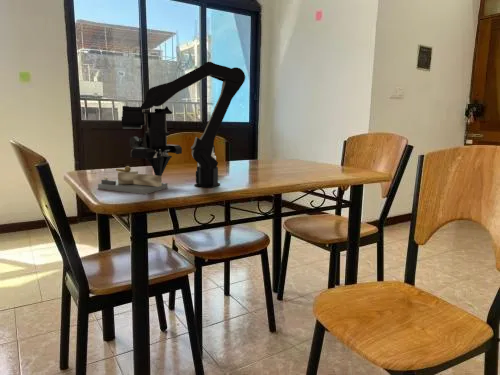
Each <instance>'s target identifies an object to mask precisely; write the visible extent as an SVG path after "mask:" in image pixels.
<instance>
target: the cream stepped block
mask: <svg viewBox="0 0 500 375" xmlns="http://www.w3.org/2000/svg"><path fill="white" fill-rule="evenodd" d="M115 171H116V172H117V180H118V184H138V185H147V186H156V187H159V186H162V183H163V182H162V176H157V175H155V174H146V173H139V171H138V170H135V169H132V168H131V167H130V166H129V165H126V166H125V167H124V168H116V169H115Z"/></svg>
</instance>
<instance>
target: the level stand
mask: <svg viewBox="0 0 500 375" xmlns="http://www.w3.org/2000/svg"><path fill="white" fill-rule="evenodd" d="M100 180H101V182H99V183H98V184H97V188H98V190H99V189H100V190H109V191H117V192H125V193H132V194H140V195H142V194H143V195H146V194H151V193H153V192H158V191H160V190H165V188H166V189H168V187H169V186H168V183H167V182H162V186H159V187H156V186H147V185H138V184H118V179H113V180H111V179H109V177H108V176H106V175H105V176H104V177H103V179H100Z"/></svg>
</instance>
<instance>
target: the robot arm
mask: <svg viewBox="0 0 500 375" xmlns="http://www.w3.org/2000/svg"><path fill="white" fill-rule="evenodd" d="M207 77H210V78H212V79H213V78H214V79H216V80H218V81H221V82H222V84H221V89H220V95H219V97H218V99H217V101H216V104H215V106H214V108H213V110H212V113H211V114H210V115H211V116H210V118H209V120H208V122H207V124H206V127H205V129H204V131H203V133H202V134H201V136H200V137H197V136H195V138H194V142H193V144H192V146H190V149H191V155H192V158H193V160H194V161H195V162H196V163H197V162H198V163H199V165H200V166H198V167H197V166H196V170H195V184H194V185H193V186H195V187H203V188H214V187H217V186H219V185H221V182H219V167H218V164H219V162H218V160H217V159H216V160H215V159H214V158H213V157H212V156H211V155H212V151H213V146H215V144H214V143H215V139H216V136H217V134H218V131H219V129H220V128H221V125H222V122H223V121H224V118H225V116H226V113H227V111H228V109H229V106H230V104H231V102H232V101H233V98H234V97H235V95H236V94H237V93H238V92H239V90H240V89H241V87H242V86H243V84H244V83H245V81H246V75H245V72H244V71H243V69H241V68H239V67H228V66H225V65H222V64H217V63H214V62H212V61H206V62H204V64H201V65H200V66H198V67H197V68H195V69H193V70H191V71H189V72H187V73H186V74H185V73H184V74H183V75H181V76H180V77H178V78H176V79H174V80H171V81H168V82H166V83H161V84H159V85H156V86H152V87H150V88H149V89H148V90H147V91H146V95H145V96H146V97H145V98H146V99H145V100H144V101H143V103H141V105H140V106H129V105H122V110H121V114H122V115H121V128H122V129H135V130H136V129H139V130H140V129H142V128H143V126H146V120H147V131H144V134H143V137H140V138H139V137H138V136H131V137H129V146H130V148H132V149H131V150H130V158H133V159H143V160H144V159H145V160H147V161H148V162H149V164H150V165H151V167H152V170H153V172H154V175H157V176H161V177H162V176H163V175H164V174H163V173H164V172H165V169H166V167H167V165H168V163H169V161H170V159H171V158H172V157H173V156H172V155H169V153H170V154H176V155H180V154H183V148H182V146H181V145H180V144H167V140H168V136H170V131H167V115H172V114H173V112H172V111H171V110H170V109H169V107H168V106H165V107H164V108H154V111H145V110H150V109H152V108H153V107H161V106H163V105H164V104H165V103H166V102H168V101H169V100H170V99H172V98H174V96H175V95H176V94H178V93H180V92H182V90H185V89H187V88H189V87H190V86H192V85H195V84H197V83H198V82H200V81H201V80H204V79H206V78H207ZM146 116H147V118H146Z"/></svg>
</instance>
